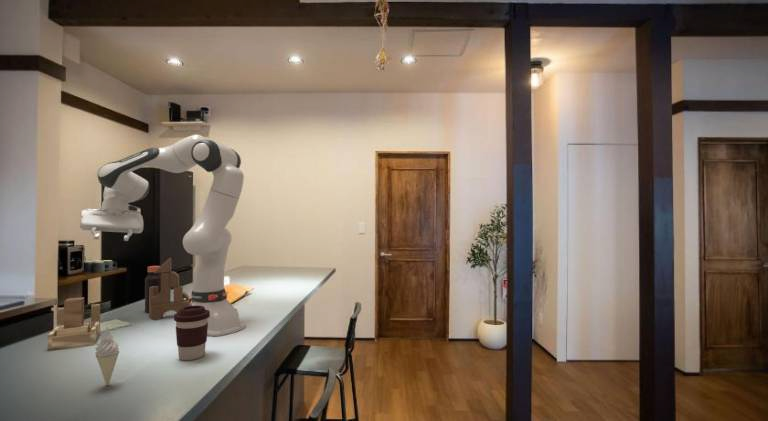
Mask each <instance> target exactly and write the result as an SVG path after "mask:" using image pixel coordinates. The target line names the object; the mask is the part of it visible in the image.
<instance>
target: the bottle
mask: <svg viewBox="0 0 768 421" xmlns="http://www.w3.org/2000/svg"><path fill="white" fill-rule="evenodd" d="M160 266H161V265H151V266H147V274H148V275H147V276H145V278H144V313H147V314H149V288H150V287H151V286H158V294H159V293H160V291H161V273H154V272H155V271H156V270H157V269H158V268H159V267H160Z"/></svg>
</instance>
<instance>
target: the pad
mask: <svg viewBox="0 0 768 421" xmlns="http://www.w3.org/2000/svg"><path fill="white" fill-rule="evenodd" d="M129 325H130V326H132V323H129V322H126V321H123V320H121V319H116V318H115V319H111V320H107V321H102V322H101V321H100V333H103V332H104V333H105V331H106V328H107V327H108V329H109V331H111V330H116V328H117V329H121V328H125V327H130V326H129ZM90 327H91V324H90ZM120 327H121V328H120Z"/></svg>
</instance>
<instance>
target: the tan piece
mask: <svg viewBox="0 0 768 421" xmlns="http://www.w3.org/2000/svg"><path fill="white" fill-rule="evenodd" d="M90 317H91V318H90V322H84V324H83V325H82V327H76V328H67V329H64V307H57V308H56V326H55V327H54V328H53V329H52V330H51V331H50V332H49V333H48V334H47V351H48V352H49V351H57V350H63V349H64V350H65V349H71V348H79V347H86V346H94V345H95V344H96V342H97V340H98V339H99V338H100V336H101V332H100V323H101V304H99V303H97V304H91V305H90ZM90 325H91V327H90Z"/></svg>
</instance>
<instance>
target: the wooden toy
mask: <svg viewBox="0 0 768 421" xmlns="http://www.w3.org/2000/svg"><path fill="white" fill-rule="evenodd" d="M159 266H160V267H159V268H158V269H157V270H156V271H155V272H154V273H159V274H160V275H161V291H160V293H159V294H158V286H151V287H150V288H149V313H148V316H149V318H151V320H162V319H163V316H164V314H165V313H167V312H171V311H174V312H175V313H178V312H179V310H180V309H181V308H183V307H187V306H191V305H190V302H191V301H190V296H189V295H188V293H186V292H184V286H183V285H180V275H179V273H177V272H175V271H172V258H171V257H169V258H168V259H166V261H165V262H164V263H163V264H161V265H159ZM171 289H173V300H172V299H171V294H172V292H171V291H172V290H171ZM185 299H186V300H185ZM171 300H172V301H171Z"/></svg>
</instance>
